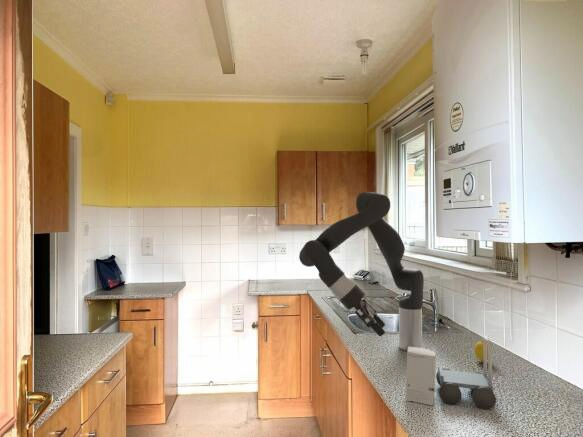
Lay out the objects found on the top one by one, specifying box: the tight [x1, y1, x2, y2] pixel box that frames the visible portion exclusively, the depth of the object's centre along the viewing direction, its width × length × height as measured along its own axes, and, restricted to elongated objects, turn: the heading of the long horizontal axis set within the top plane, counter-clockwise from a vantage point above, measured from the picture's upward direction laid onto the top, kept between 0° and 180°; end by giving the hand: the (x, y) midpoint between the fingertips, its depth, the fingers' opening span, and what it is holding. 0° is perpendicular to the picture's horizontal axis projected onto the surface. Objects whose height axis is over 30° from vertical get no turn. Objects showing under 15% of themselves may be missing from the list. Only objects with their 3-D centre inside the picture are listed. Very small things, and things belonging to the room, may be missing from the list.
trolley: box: [435, 335, 497, 410], centre depth 114 cm, size 12×15×18 cm
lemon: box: [474, 340, 488, 363], centre depth 141 cm, size 6×6×8 cm
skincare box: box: [405, 347, 437, 406], centre depth 112 cm, size 8×6×15 cm
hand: (382, 330), depth 116 cm, fingers open, 8 cm apart
